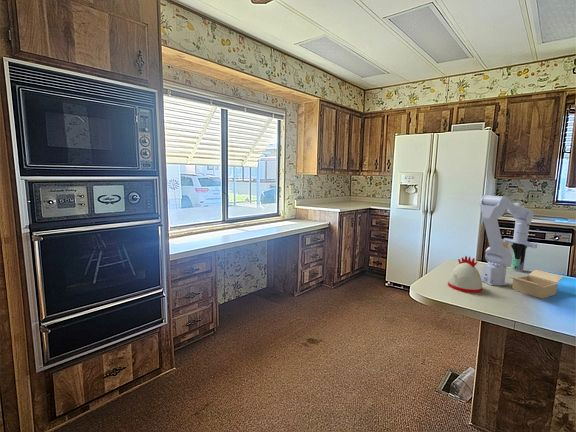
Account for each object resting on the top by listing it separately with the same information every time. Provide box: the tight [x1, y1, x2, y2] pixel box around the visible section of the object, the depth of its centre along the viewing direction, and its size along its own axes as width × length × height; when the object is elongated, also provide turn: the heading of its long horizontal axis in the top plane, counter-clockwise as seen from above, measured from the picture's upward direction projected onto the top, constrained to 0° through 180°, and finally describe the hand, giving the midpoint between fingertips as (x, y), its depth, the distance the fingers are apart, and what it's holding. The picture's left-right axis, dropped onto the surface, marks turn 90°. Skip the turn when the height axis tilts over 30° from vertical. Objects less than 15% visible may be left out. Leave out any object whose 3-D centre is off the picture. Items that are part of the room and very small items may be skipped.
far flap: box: [528, 269, 564, 284], centre depth 147 cm, size 6×11×1 cm, turn 26°
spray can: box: [510, 248, 527, 273], centre depth 174 cm, size 6×6×20 cm
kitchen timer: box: [447, 255, 483, 294], centre depth 146 cm, size 14×14×15 cm
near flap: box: [507, 275, 542, 287], centre depth 139 cm, size 6×11×1 cm, turn 27°
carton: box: [511, 274, 559, 300], centre depth 144 cm, size 12×12×5 cm
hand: (517, 258), depth 160 cm, fingers closed
